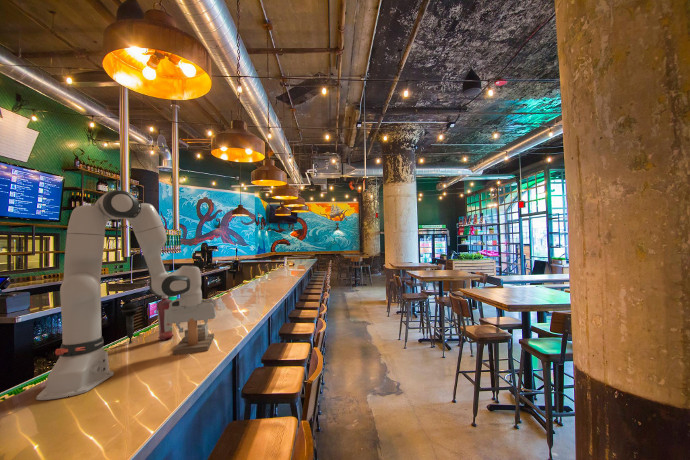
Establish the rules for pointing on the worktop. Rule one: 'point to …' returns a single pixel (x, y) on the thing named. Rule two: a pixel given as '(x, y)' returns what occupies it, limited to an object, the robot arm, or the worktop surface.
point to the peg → (192, 333)
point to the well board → (202, 345)
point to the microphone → (129, 318)
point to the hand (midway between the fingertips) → (192, 330)
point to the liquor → (164, 319)
